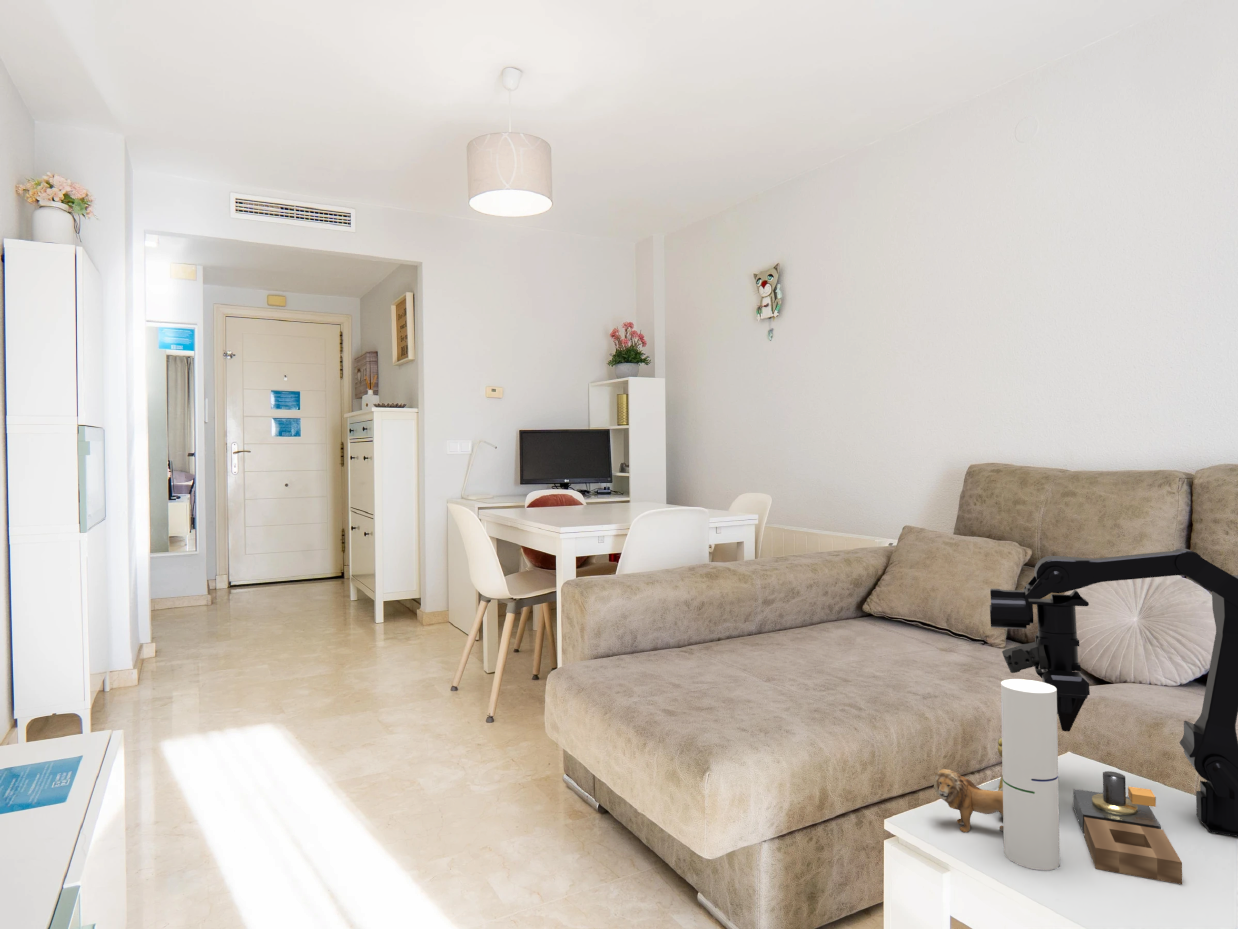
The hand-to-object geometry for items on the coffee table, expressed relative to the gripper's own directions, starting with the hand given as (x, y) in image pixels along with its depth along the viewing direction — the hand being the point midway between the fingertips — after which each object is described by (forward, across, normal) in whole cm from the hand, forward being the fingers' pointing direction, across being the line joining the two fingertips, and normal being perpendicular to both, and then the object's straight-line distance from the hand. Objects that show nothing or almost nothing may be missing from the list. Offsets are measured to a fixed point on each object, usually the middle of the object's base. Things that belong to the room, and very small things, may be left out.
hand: (1061, 722), depth 125 cm
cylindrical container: (+14, +23, -7) cm, 27 cm away
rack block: (+14, +18, +6) cm, 23 cm away
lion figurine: (+13, +17, -14) cm, 26 cm away
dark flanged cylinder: (+14, +7, +6) cm, 16 cm away
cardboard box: (+10, +6, +10) cm, 15 cm away
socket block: (+14, +7, +6) cm, 16 cm away
